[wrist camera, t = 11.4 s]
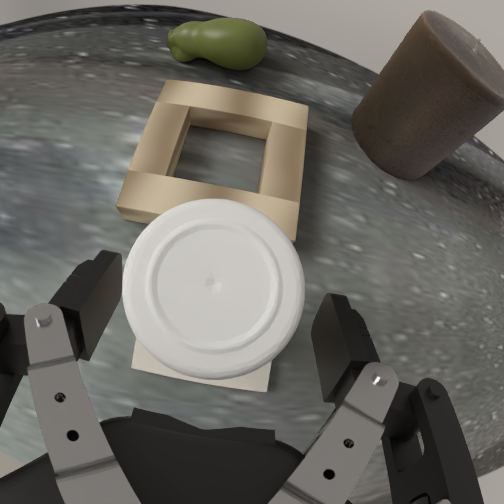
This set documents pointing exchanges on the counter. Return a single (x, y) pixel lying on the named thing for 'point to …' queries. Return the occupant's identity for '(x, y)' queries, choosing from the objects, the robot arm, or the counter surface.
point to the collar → (225, 119)
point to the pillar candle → (428, 98)
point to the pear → (219, 42)
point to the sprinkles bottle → (213, 289)
